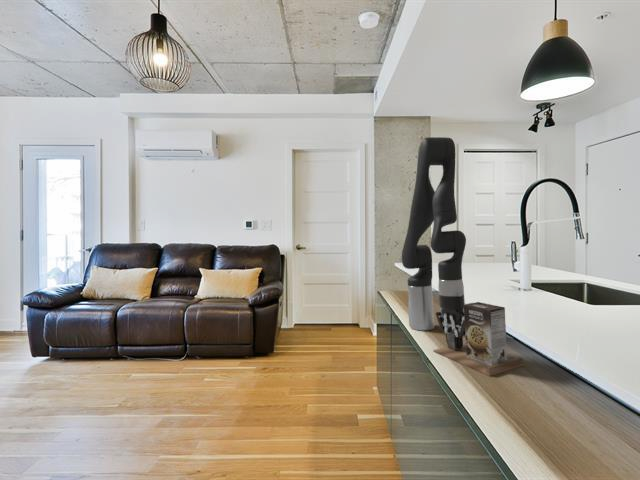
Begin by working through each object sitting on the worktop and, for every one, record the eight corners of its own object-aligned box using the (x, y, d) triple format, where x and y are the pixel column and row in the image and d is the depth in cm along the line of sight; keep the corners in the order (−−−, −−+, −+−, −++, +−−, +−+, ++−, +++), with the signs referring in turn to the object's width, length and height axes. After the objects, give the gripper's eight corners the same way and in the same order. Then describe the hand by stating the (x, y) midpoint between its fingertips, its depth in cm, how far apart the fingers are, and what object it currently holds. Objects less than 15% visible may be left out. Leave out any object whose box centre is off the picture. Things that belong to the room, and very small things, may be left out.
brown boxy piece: (465, 358, 97) (462, 304, 97) (481, 353, 100) (477, 301, 99) (492, 369, 89) (489, 310, 88) (509, 363, 91) (505, 306, 91)
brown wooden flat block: (433, 351, 105) (432, 334, 105) (464, 344, 110) (463, 327, 110) (489, 376, 86) (488, 355, 86) (523, 365, 91) (522, 345, 91)
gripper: (427, 291, 110) (430, 342, 110) (459, 297, 97) (462, 355, 97) (444, 288, 113) (447, 338, 113) (477, 294, 100) (481, 350, 100)
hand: (454, 345), depth 105 cm, fingers closed on brown wooden flat block, 3 cm apart
